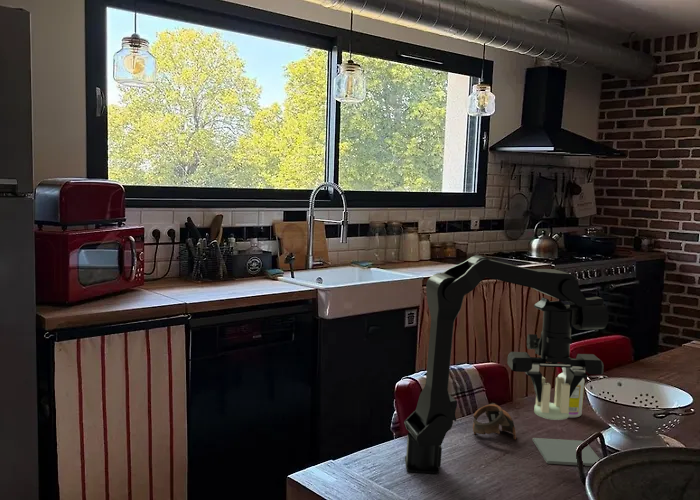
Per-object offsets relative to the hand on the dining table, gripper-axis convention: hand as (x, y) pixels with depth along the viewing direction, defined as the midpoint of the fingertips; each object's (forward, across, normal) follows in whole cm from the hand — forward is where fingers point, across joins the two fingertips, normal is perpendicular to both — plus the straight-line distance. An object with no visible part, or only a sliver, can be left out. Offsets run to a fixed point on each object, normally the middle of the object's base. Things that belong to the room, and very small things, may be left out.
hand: (552, 402), depth 136 cm
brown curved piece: (+13, +10, -12) cm, 20 cm away
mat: (+13, -5, -4) cm, 14 cm away
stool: (+2, 0, 0) cm, 3 cm away
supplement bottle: (+14, -13, -29) cm, 34 cm away
